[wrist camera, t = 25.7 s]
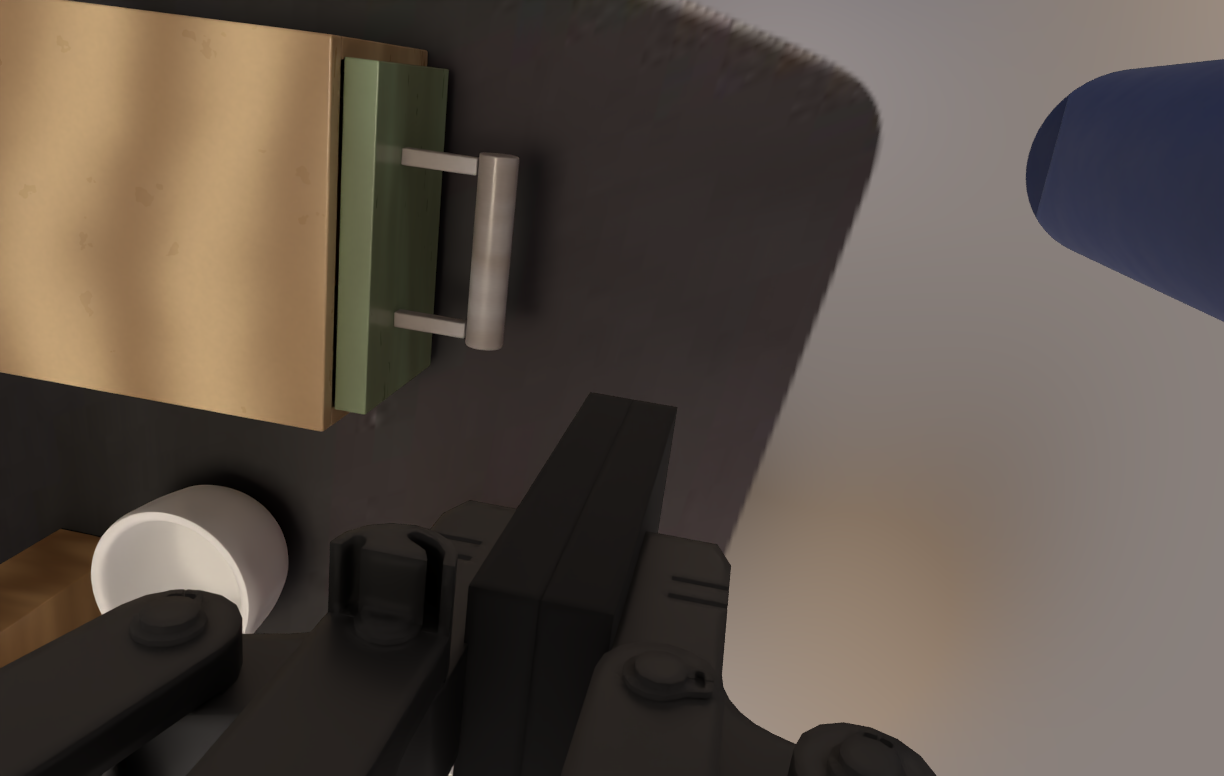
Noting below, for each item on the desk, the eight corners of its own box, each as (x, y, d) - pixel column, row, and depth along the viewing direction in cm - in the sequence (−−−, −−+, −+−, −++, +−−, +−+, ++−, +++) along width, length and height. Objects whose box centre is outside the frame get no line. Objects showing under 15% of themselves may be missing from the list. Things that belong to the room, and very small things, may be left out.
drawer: (553, 83, 35) (505, 77, 28) (524, 381, 38) (475, 435, 32) (157, 31, 37) (30, 14, 30) (167, 320, 40) (56, 359, 34)
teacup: (186, 438, 43) (108, 482, 38) (330, 506, 43) (270, 559, 38) (141, 600, 46) (64, 660, 41) (274, 664, 46) (213, 732, 41)
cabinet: (428, 50, 36) (332, 34, 28) (410, 368, 40) (322, 432, 32) (122, 10, 37) (-52, -15, 30) (136, 321, 42) (-13, 370, 34)
